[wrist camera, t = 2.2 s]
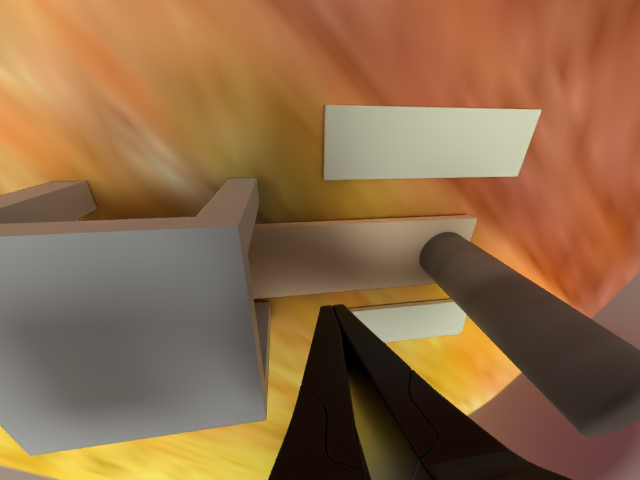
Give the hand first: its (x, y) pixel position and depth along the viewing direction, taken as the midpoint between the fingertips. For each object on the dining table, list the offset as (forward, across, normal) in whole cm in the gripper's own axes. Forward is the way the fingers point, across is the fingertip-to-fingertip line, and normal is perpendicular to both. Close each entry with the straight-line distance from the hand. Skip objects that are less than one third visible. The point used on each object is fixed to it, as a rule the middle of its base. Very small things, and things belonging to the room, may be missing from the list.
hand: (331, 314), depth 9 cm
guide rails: (+4, -5, 0) cm, 7 cm away
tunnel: (+4, +7, 0) cm, 8 cm away
